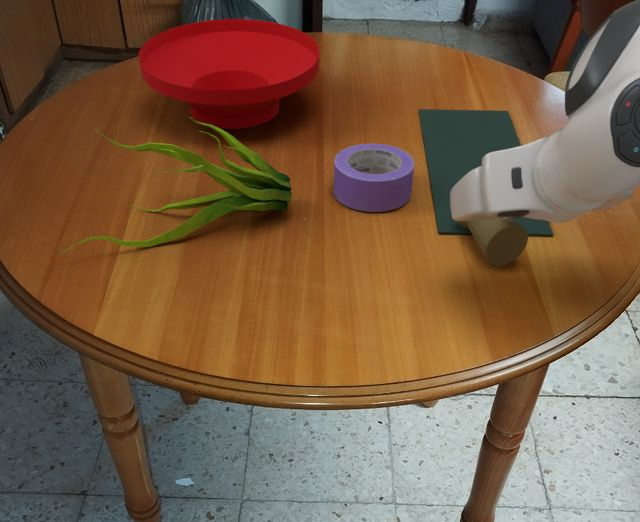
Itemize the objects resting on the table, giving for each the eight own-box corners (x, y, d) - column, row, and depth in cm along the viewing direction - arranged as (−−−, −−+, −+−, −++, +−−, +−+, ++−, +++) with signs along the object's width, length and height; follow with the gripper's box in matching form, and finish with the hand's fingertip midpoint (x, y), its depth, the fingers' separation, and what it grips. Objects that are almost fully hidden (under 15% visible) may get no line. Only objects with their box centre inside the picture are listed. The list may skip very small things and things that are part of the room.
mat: (418, 111, 121) (418, 108, 121) (507, 112, 121) (508, 110, 121) (438, 234, 95) (438, 231, 94) (552, 236, 94) (553, 234, 94)
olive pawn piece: (525, 258, 90) (487, 215, 97) (530, 219, 86) (489, 177, 92) (484, 271, 90) (448, 228, 97) (486, 233, 85) (448, 191, 92)
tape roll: (334, 172, 106) (335, 141, 102) (408, 174, 106) (412, 143, 102) (332, 212, 98) (333, 180, 95) (413, 214, 98) (417, 182, 94)
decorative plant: (95, 197, 101) (68, 95, 90) (294, 199, 101) (291, 97, 90) (62, 267, 89) (27, 160, 78) (288, 270, 89) (283, 163, 78)
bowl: (206, 66, 135) (199, 9, 127) (346, 93, 126) (348, 34, 119) (113, 127, 116) (100, 66, 109) (270, 165, 108) (267, 100, 100)
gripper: (654, 141, 73) (590, 181, 87) (471, 153, 71) (435, 192, 85) (658, 201, 73) (593, 231, 87) (476, 214, 71) (439, 243, 85)
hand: (514, 212), depth 86 cm, fingers closed
